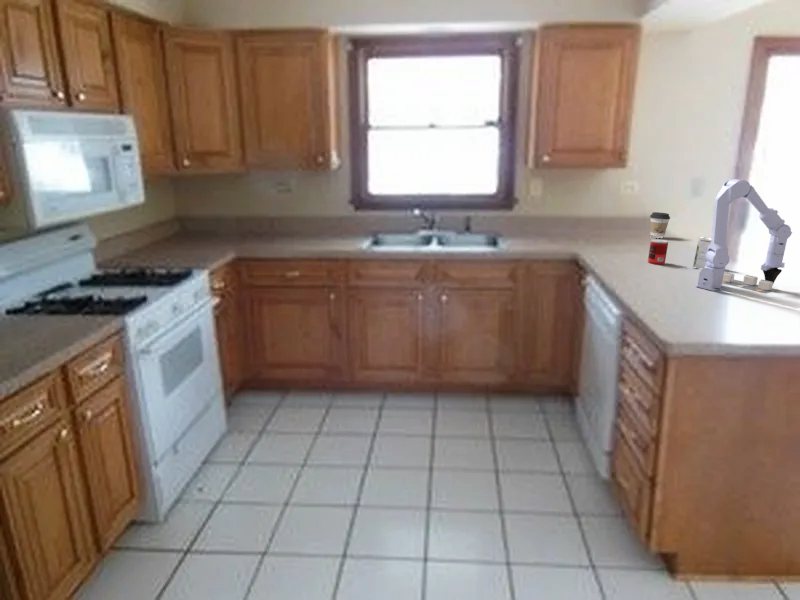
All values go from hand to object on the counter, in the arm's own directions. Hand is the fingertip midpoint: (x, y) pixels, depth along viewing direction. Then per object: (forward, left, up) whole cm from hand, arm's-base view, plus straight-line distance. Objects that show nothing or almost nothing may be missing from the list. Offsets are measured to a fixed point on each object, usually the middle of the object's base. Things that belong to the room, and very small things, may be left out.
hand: (768, 286), depth 250 cm
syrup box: (+15, +38, -2) cm, 41 cm away
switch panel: (-3, +7, -2) cm, 8 cm away
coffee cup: (+72, +101, -2) cm, 124 cm away
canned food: (+5, +55, -2) cm, 55 cm away
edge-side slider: (-3, 0, -1) cm, 3 cm away
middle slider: (0, +7, -1) cm, 8 cm away
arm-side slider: (-4, +15, -1) cm, 16 cm away
